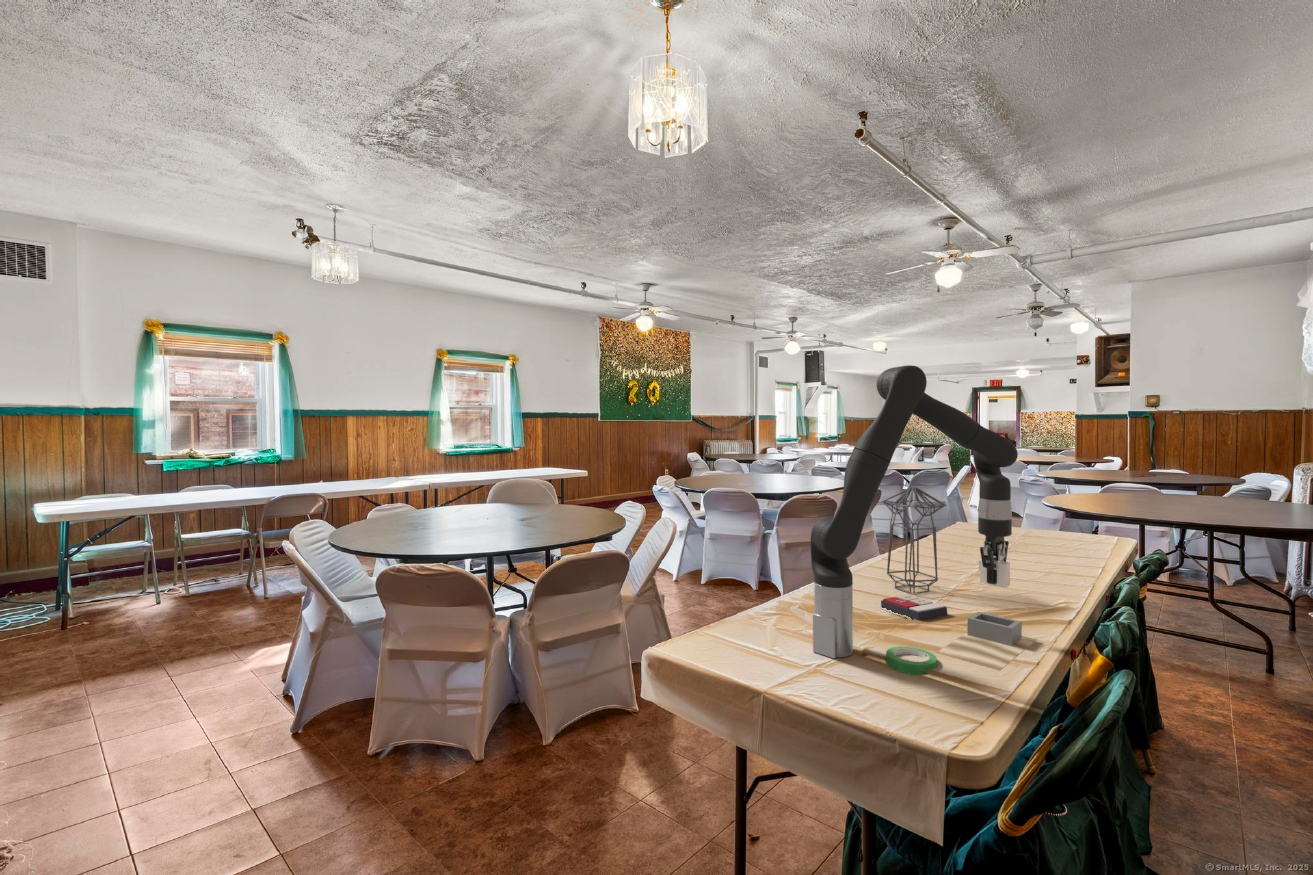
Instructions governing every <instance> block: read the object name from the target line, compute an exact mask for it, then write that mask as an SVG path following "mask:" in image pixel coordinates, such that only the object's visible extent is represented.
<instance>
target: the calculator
mask: <svg viewBox="0 0 1313 875" xmlns="http://www.w3.org/2000/svg"><path fill="white" fill-rule="evenodd" d="M881 607H882V608H886V609H887V610H891V611H892V612H894V613H898V614H901V615H906V616H908V617H910V618H911V619H912V621H914V620H916V621H919V622H922V621H926V620H932V619H937V618H942V617H946V616H947V617H948V607H946V606H945V605H942V604H940V603H937V602H933V601H931V600H927V599H923V598H920V597H916V596H913V595H911V594H903V595H899V596H892V597H886V598H883V599H881V601H880V608H881Z"/></svg>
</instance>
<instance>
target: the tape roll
mask: <svg viewBox="0 0 1313 875" xmlns="http://www.w3.org/2000/svg"><path fill="white" fill-rule="evenodd" d="M885 655H886V656H885V659H886V660H885V662H886V664H887V666H888V667H890V668H891V669H892V670H895V671H897V672H901V673H903V674H908V675H913V676H927V675H930V673H928V672H926V671H930V670H933V669H936V668H937V667H938V657H937V656H936V655H935V654H934V653H931V652H930V651H928V650H924V649H923V648H922V649H921V648H917V647H911V646H894V647H890V648H888V649H887V650H886V651H885ZM899 655H912V656H917V657H919V658H923V659H925V660H924V661H911V660H906V659H903V658H901V657H898V656H899Z"/></svg>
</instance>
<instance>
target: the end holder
mask: <svg viewBox="0 0 1313 875" xmlns="http://www.w3.org/2000/svg"><path fill="white" fill-rule="evenodd" d="M1022 623H1023V622H1022V621H1021V620H1016V619H1012V618H1009V617H1008V618H1007V617H1002V616H999V615H994V614H990V613H986V612H980V611H977V612H976V613H974V614H972V615H971V616H968V617H967V627H966V628H967V632H966V633H967V635H969V636H973V637H977V638H981V639H985V640H989V641H992V642H996V643H1000V644H1004V645H1008V646H1013V645H1014V644H1015V643H1017V642H1018V641H1019V640H1021V639H1022V636H1023V635H1022V634H1023V632H1022V629H1023V627H1022V626H1023V625H1022Z"/></svg>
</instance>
